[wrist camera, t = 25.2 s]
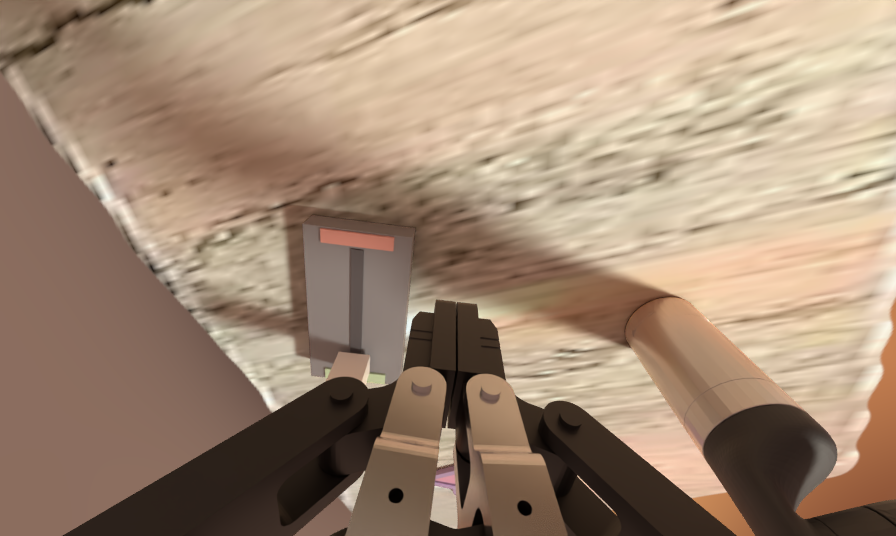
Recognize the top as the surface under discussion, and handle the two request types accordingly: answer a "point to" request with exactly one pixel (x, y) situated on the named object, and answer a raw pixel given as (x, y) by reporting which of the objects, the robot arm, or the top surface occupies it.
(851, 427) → the top surface
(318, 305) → the switch base
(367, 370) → the handle
